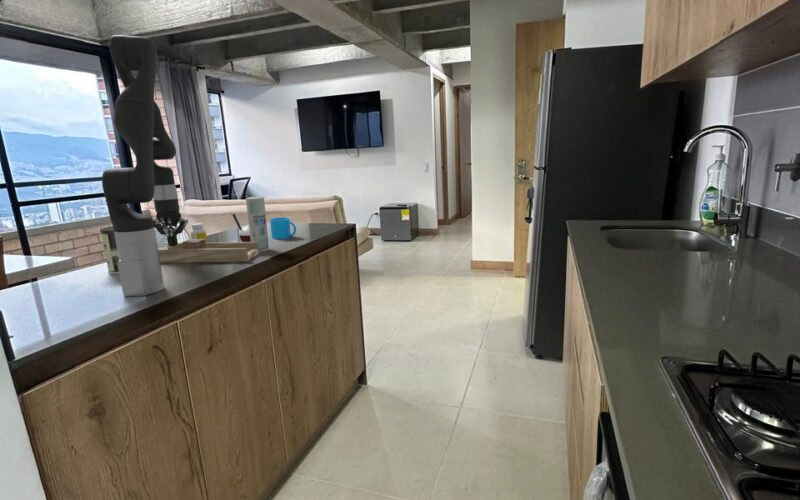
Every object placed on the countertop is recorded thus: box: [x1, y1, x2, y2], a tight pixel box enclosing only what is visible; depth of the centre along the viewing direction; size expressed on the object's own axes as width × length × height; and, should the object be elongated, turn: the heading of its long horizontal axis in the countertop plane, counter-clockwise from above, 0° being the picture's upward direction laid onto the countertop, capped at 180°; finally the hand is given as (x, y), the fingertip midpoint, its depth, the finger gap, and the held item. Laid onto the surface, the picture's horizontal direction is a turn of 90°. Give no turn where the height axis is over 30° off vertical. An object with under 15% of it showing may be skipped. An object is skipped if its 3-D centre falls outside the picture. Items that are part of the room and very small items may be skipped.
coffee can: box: [99, 226, 120, 275], centre depth 137 cm, size 10×10×14 cm
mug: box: [269, 217, 297, 240], centre depth 183 cm, size 12×8×8 cm
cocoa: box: [232, 213, 251, 242], centre depth 175 cm, size 10×6×12 cm, turn 69°
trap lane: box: [158, 241, 260, 264], centre depth 150 cm, size 11×34×4 cm, turn 87°
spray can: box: [245, 196, 270, 253], centre depth 159 cm, size 6×6×20 cm
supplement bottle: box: [190, 223, 208, 243], centre depth 166 cm, size 5×5×10 cm
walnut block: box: [181, 238, 207, 249], centre depth 150 cm, size 6×6×4 cm
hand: (173, 246), depth 151 cm, fingers closed
